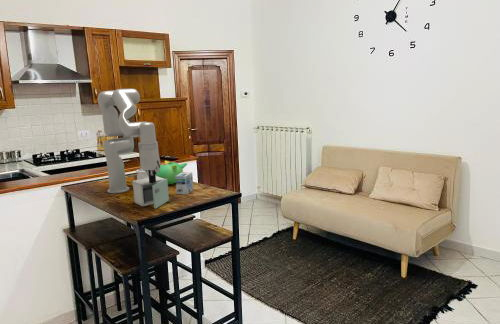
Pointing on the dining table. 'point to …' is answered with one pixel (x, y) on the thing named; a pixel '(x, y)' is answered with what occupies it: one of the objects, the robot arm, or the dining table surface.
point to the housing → (144, 191)
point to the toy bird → (170, 171)
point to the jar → (141, 174)
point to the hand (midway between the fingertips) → (152, 182)
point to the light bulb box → (184, 182)
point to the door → (160, 193)
